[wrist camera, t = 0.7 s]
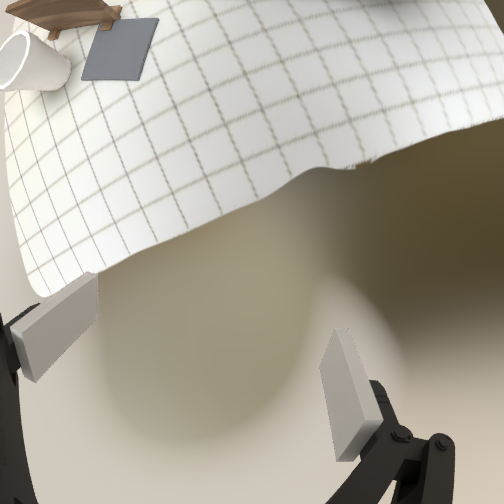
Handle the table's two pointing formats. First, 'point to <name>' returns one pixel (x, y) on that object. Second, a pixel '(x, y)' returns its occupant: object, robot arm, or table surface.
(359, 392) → the robot arm
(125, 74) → the mat
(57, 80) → the foam cup
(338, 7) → the table surface
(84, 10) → the screen
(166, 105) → the table surface
